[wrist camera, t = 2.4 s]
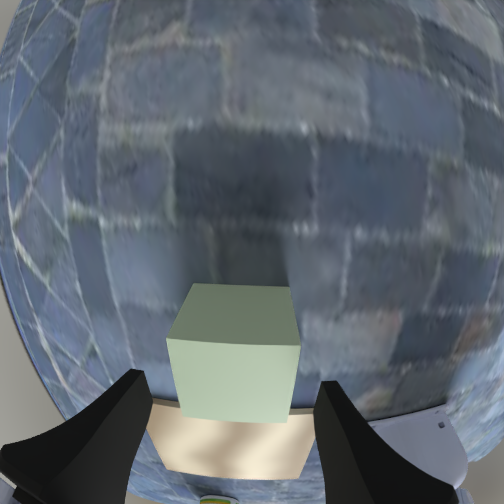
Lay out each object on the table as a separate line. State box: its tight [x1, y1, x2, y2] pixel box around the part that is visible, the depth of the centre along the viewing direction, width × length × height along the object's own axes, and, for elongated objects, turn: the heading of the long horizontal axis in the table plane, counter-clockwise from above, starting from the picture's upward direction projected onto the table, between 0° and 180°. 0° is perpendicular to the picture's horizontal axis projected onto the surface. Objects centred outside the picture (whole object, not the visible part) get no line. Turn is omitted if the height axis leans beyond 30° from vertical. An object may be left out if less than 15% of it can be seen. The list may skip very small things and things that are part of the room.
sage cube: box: [166, 283, 301, 423], centre depth 13 cm, size 5×5×5 cm
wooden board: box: [146, 398, 316, 480], centre depth 19 cm, size 14×13×1 cm
